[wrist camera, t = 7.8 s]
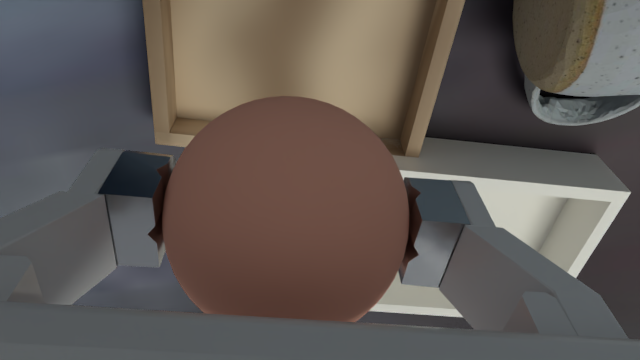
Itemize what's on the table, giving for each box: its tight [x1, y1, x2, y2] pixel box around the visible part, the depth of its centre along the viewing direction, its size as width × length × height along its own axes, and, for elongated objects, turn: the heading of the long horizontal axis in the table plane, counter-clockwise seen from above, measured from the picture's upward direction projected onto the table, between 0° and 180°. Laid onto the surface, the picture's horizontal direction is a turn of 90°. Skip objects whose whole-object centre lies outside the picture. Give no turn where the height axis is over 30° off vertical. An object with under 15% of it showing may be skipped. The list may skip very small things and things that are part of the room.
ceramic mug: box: [513, 0, 640, 126], centre depth 19 cm, size 11×8×8 cm
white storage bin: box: [369, 137, 631, 317], centre depth 27 cm, size 16×10×4 cm, turn 83°
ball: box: [162, 96, 410, 322], centre depth 10 cm, size 5×5×5 cm
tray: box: [142, 0, 465, 158], centre depth 20 cm, size 13×13×2 cm
